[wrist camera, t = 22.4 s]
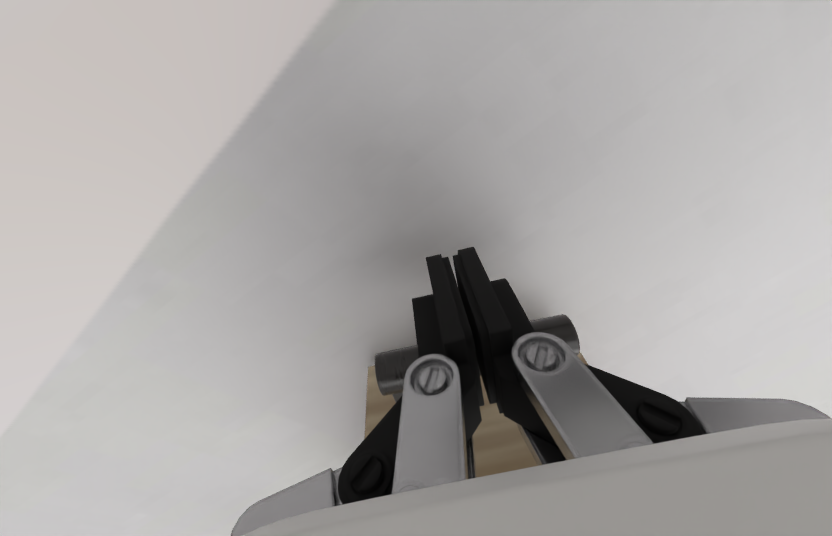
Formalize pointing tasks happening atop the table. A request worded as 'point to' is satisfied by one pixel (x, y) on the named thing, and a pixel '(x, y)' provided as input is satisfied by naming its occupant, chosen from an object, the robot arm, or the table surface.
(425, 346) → the robot arm
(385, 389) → the drawer
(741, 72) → the table surface
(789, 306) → the table surface
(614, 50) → the table surface
